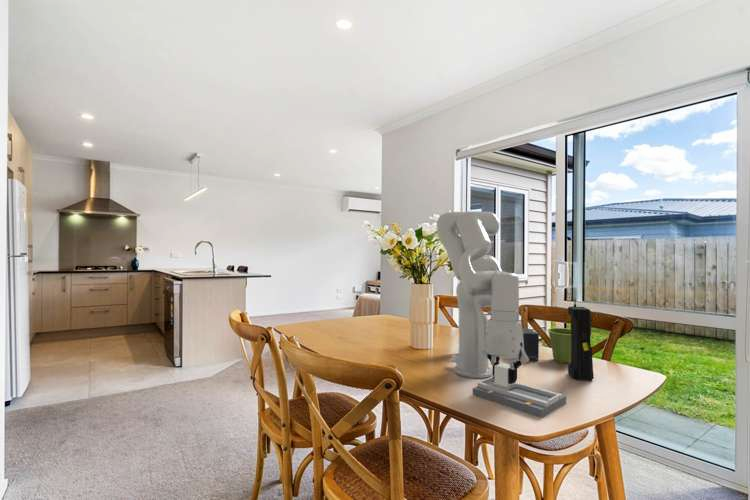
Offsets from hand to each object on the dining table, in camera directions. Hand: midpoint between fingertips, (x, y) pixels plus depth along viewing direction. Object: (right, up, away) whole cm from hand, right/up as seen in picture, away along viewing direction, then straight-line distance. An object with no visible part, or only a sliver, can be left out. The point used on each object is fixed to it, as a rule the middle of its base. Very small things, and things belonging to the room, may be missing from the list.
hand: (504, 380), depth 111 cm
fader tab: (0, -2, 0) cm, 2 cm away
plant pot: (+34, -5, +35) cm, 49 cm away
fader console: (+3, -4, -3) cm, 6 cm away
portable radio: (+30, -5, +16) cm, 34 cm away
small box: (+22, -5, +40) cm, 46 cm away
